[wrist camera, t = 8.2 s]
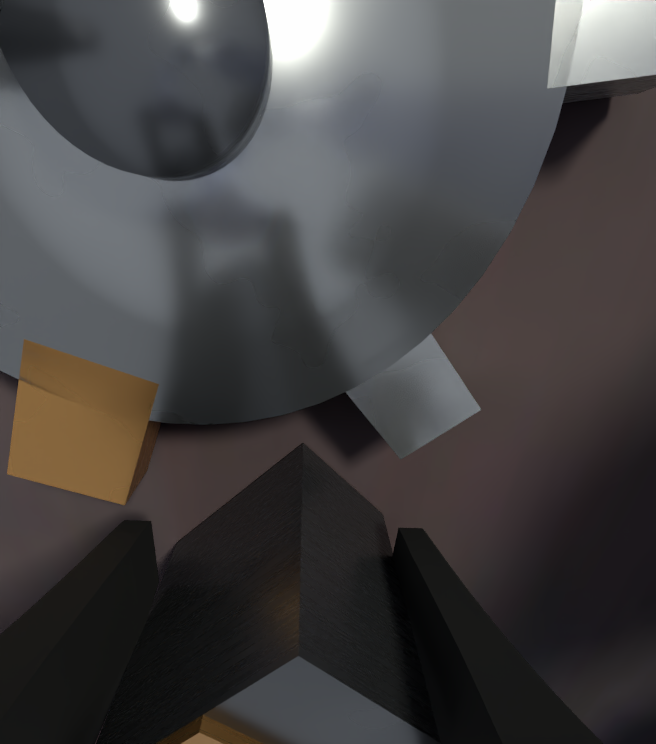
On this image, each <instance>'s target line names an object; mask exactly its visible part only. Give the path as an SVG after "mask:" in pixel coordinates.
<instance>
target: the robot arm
mask: <svg viewBox="0 0 656 744" xmlns="http://www.w3.org/2000/svg"><path fill="white" fill-rule="evenodd" d="M393 559H394V563H395V567H396V571H397V575H398V579H399V583H400V587H401V591H402V595H403V598H404V601H405V605H406V608H407V612H408V616H409V619H410V623H411V627H412V631H413V635H414V639H415V643H416V647H417V651H418V655H419V659H420V663H421V667H422V671H423V675H424V679H425V683H426V687H427V691H428V694H429V698H430V702H431V706H432V710H433V714H434V718H435V722H436V726H437V730H438V734H439V738H440V742H441V744H603V743H602V742H601V741H600V740H599V739H598V738H597V737H596V736H595V735H594V734H593V733H592V732H591V731H590V730H589V729H588V728H587V727H586V726H585V725H584V724H583V723H582V722H581V720H580V719H579V718H578V717H577V716H576V715H575V714H574V713H573V712H572V711H571V710H570V709H569V708H568V707H567V706H566V705H565V704H564V702H563V701H562V700H561V699H560V698H559V697H558V696H557V695H556V694H555V693H554V692H553V691H552V690H551V689H550V687H549V686H548V685H547V684H546V683H545V682H544V681H543V680H542V679H541V677H540V676H539V675H538V674H537V673H536V672H535V671H534V670H533V668H532V667H531V666H530V665H529V664H528V663H527V662H526V660H525V659H524V658H523V657H522V656H521V655H520V653H519V652H518V651H517V650H516V649H515V648H514V646H513V645H512V644H511V643H510V642H509V641H508V639H507V638H506V637H505V636H504V635H503V633H502V632H501V631H500V630H499V628H498V627H497V626H496V625H495V624H494V622H493V621H492V620H491V619H490V617H489V616H488V615H487V614H486V612H485V611H484V610H483V608H482V607H481V606H480V605H479V603H478V602H477V601H476V600H475V598H474V597H473V596H472V595H471V593H470V592H469V591H468V589H467V588H466V587H465V585H464V584H463V583H462V581H461V580H460V579H459V577H458V576H457V575H456V573H455V572H454V571H453V569H452V568H451V567H450V565H449V564H448V563H447V561H446V560H445V558H444V557H443V556H442V554H441V553H440V552H439V550H438V549H437V547H436V546H435V545H434V543H433V542H432V540H431V539H430V538H429V536H428V535H427V533H426V532H425V531H424V530H423V529H422V528H398V533H397V538H396V542H395V547H394V552H393ZM158 583H159V578H158V571H157V563H156V555H155V547H154V540H153V532H152V524H151V521H123V522H122V523H121V524H120V525H119V526H118V527H117V528H115V529H114V530H113V531H112V532H111V533H110V534H109V535H108V536H107V537H106V538H105V539H104V540H103V541H102V542H101V543H100V544H99V545H98V546H97V547H96V548H95V549H94V550H93V551H91V552H90V553H89V554H88V555H87V556H86V557H85V558H84V559H83V560H82V561H81V562H80V563H79V564H78V565H77V566H76V567H75V568H74V569H73V570H71V571H70V572H69V573H68V574H67V575H66V576H65V577H64V578H63V579H62V580H61V581H60V582H59V583H57V584H56V585H55V586H54V587H53V588H52V589H51V590H50V591H49V592H48V593H47V594H45V595H44V596H43V597H42V598H41V599H40V600H39V601H38V602H37V603H36V604H35V605H33V606H32V607H31V608H30V609H29V610H28V611H27V612H26V613H25V614H23V615H22V616H21V617H20V618H19V619H18V620H17V621H15V622H14V623H13V624H12V625H11V626H10V627H9V628H7V629H6V630H5V631H4V632H3V633H2V634H0V744H95V742H96V739H97V737H98V735H99V733H100V730H101V728H102V726H103V723H104V721H105V719H106V716H107V714H108V712H109V709H110V707H111V705H112V703H113V700H114V698H115V696H116V693H117V691H118V688H119V686H120V683H121V681H122V678H123V676H124V673H125V671H126V668H127V666H128V663H129V661H130V658H131V656H132V653H133V651H134V648H135V646H136V644H137V642H138V639H139V637H140V635H141V633H142V630H143V628H144V626H145V623H146V621H147V618H148V615H149V612H150V609H151V606H152V602H153V599H154V596H155V593H156V589H157V586H158Z"/></svg>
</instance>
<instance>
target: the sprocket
mask: <svg viewBox="0 0 656 744" xmlns="http://www.w3.org/2000/svg"><path fill="white" fill-rule="evenodd" d="M654 87H656V0H0V371H2V372H4V373H6V374H8V375H10V376H12V377H15V378H17V379H19V382H18V390H17V398H16V406H15V414H14V422H13V431H12V439H11V447H10V455H9V463H8V471H7V474H8V475H12V476H16V477H20V478H24V479H27V480H31V481H35V482H39V483H42V484H46V485H50V486H54V487H57V488H61V489H65V490H69V491H73V492H76V493H80V494H84V495H88V496H91V497H95V498H99V499H103V500H107V501H110V502H114V503H118V504H122V505H125V504H126V503H127V501H128V500H129V498H130V497H131V495H132V493H133V492H134V490H135V489H136V487H137V486H138V484H139V482H140V481H141V479H142V478H143V476H144V475H145V473H146V471H147V469H148V465H149V462H150V459H151V455H152V452H153V448H154V445H155V442H156V438H157V435H158V432H159V428H160V425H161V422H163V423H177V424H202V425H210V424H224V423H238V422H248V421H253V420H259V419H264V418H269V417H275V416H280V415H285V414H288V413H291V412H294V411H297V410H300V409H304V408H307V407H310V406H313V405H316V404H320V403H322V402H324V401H326V400H329V399H331V398H333V397H335V396H338V395H340V394H342V393H344V392H346V394H347V395H348V396H349V397H350V398H351V400H352V401H353V402H354V403H355V404H356V406H357V407H358V408H359V409H360V411H361V412H362V413H363V414H364V415H365V417H366V418H367V419H368V420H369V421H370V423H371V424H372V425H373V426H374V428H375V429H376V430H377V431H378V432H379V434H380V435H381V436H382V437H383V439H384V440H385V441H386V442H387V443H388V445H389V446H390V447H391V448H392V449H393V451H394V452H395V453H396V454H397V456H398V457H399V458H400V459H402V458H404V457H406V456H407V455H409V454H410V453H412V452H414V451H415V450H417V449H418V448H420V447H422V446H423V445H425V444H427V443H428V442H430V441H431V440H433V439H435V438H436V437H438V436H439V435H441V434H443V433H444V432H446V431H448V430H449V429H451V428H452V427H454V426H456V425H457V424H459V423H460V422H462V421H464V420H465V419H467V418H469V417H470V416H472V415H473V414H475V413H477V412H478V411H480V410H481V409H480V407H479V406H478V404H477V403H476V401H475V400H474V398H473V397H472V395H471V394H470V392H469V391H468V389H467V388H466V386H465V384H464V383H463V381H462V380H461V378H460V377H459V375H458V374H457V372H456V371H455V369H454V368H453V366H452V365H451V363H450V362H449V360H448V359H447V357H446V356H445V354H444V353H443V351H442V349H441V348H440V346H439V345H438V343H437V342H436V340H435V339H434V337H433V336H432V334H431V333H432V332H433V331H434V330H435V329H436V328H437V327H438V326H439V325H440V324H441V323H442V322H443V321H444V320H445V319H446V318H447V317H448V316H449V315H450V314H451V313H452V312H453V311H454V310H455V309H456V307H457V306H458V305H459V304H460V303H461V301H462V300H463V299H464V298H465V296H466V295H467V294H468V293H469V291H470V290H471V289H472V288H473V287H474V285H475V284H476V283H477V282H478V280H479V279H480V278H481V277H482V276H483V274H484V272H485V271H486V269H487V268H488V266H489V265H490V263H491V262H492V260H493V259H494V257H495V255H496V254H497V252H498V251H499V249H500V248H501V246H502V245H503V243H504V242H505V240H506V238H507V237H508V235H509V234H510V232H511V230H512V228H513V226H514V224H515V222H516V220H517V218H518V216H519V214H520V212H521V210H522V208H523V206H524V204H525V202H526V200H527V198H528V196H529V194H530V192H531V190H532V188H533V186H534V184H535V182H536V179H537V176H538V174H539V171H540V169H541V166H542V163H543V161H544V158H545V155H546V153H547V150H548V148H549V145H550V142H551V140H552V137H553V134H554V132H555V129H556V125H557V122H558V118H559V114H560V110H561V107H562V103H568V102H576V101H583V100H591V99H599V98H607V97H615V96H622V95H630V94H638V93H641V92H644V91H646V90H649V89H652V88H654Z"/></svg>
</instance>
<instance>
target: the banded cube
mask: <svg viewBox="0 0 656 744" xmlns="http://www.w3.org/2000/svg"><path fill="white" fill-rule="evenodd" d="M96 744H441V742H440V738H439V734H438V730H437V726H436V722H435V718H434V714H433V710H432V706H431V702H430V698H429V694H428V691H427V687H426V683H425V679H424V675H423V671H422V667H421V663H420V659H419V655H418V651H417V647H416V643H415V639H414V635H413V631H412V627H411V623H410V619H409V616H408V612H407V608H406V605H405V601H404V598H403V595H402V591H401V587H400V583H399V579H398V575H397V571H396V567H395V563H394V559H393V552H392V548H391V544H390V540H389V537H388V533H387V529H386V525H385V521H384V517H383V514H382V513H380V512H379V511H378V510H377V509H376V508H375V507H374V506H373V505H372V504H370V503H369V502H368V501H367V500H366V499H365V498H364V497H363V496H362V495H360V494H359V493H358V492H357V491H356V490H355V489H354V488H353V487H352V486H350V485H349V484H348V483H347V482H346V481H345V480H344V479H343V478H341V477H340V476H339V475H338V474H337V473H336V472H335V471H334V470H333V469H331V468H330V467H329V466H328V465H327V464H326V463H325V462H324V461H323V460H321V459H320V458H319V457H318V456H317V455H316V454H315V453H314V452H313V451H311V450H310V449H309V448H308V447H307V446H306V445H305V444H304V443H302V444H301V445H300V446H299V447H297V448H296V449H295V450H294V451H292V452H291V453H290V454H288V455H287V456H286V457H285V458H283V459H282V460H281V461H280V462H278V463H277V464H276V465H275V466H273V467H272V468H271V469H270V470H268V471H267V472H266V473H264V474H263V475H262V476H261V477H259V478H258V479H257V480H256V481H254V482H253V483H252V484H251V485H249V486H248V487H247V488H246V489H244V490H243V491H242V492H240V493H239V494H238V495H237V496H235V497H234V498H233V499H232V500H230V501H229V502H228V503H227V504H225V505H224V506H223V507H222V508H220V509H219V510H218V511H216V512H215V513H214V514H213V515H211V516H210V517H209V518H208V519H206V520H205V521H204V522H203V523H201V524H200V525H199V526H198V527H196V528H195V529H194V530H192V531H191V532H190V533H189V534H187V535H186V536H185V537H184V538H182V539H181V540H180V541H179V542H177V544H176V546H175V549H174V551H173V554H172V556H171V559H170V561H169V564H168V566H167V569H166V571H165V574H164V576H163V579H162V581H161V584H160V586H159V589H158V591H157V594H156V596H155V599H154V601H153V604H152V606H151V609H150V612H149V615H148V618H147V621H146V623H145V626H144V628H143V630H142V633H141V635H140V637H139V639H138V642H137V644H136V646H135V648H134V651H133V653H132V656H131V658H130V661H129V663H128V666H127V668H126V671H125V673H124V676H123V678H122V681H121V683H120V686H119V688H118V691H117V693H116V696H115V698H114V700H113V703H112V705H111V708H110V710H109V713H108V715H107V718H106V720H105V723H104V725H103V728H102V730H101V733H100V735H99V738H98V740H97V743H96Z"/></svg>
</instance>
